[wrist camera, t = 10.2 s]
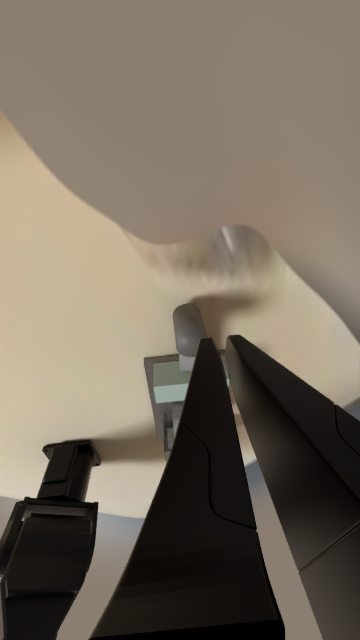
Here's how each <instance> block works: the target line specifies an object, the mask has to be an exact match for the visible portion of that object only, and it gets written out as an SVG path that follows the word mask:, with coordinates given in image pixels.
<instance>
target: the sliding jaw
mask: <svg viewBox="0 0 360 640" xmlns="http://www.w3.org/2000/svg"><path fill="white" fill-rule="evenodd" d="M173 322H174V331H175V339H176V348H177V351H178V352H179V361H172V362H161V363H154V371H153V388H154V394H155V399H156V403H164V402H173V401H183V400H184V399H185V395H186V392H187V388H188V384H189V380H190V376H191V372H192V368H193V364H194V360H195V356H196V352H197V348H198V344H199V340H200V339H201V338H207V335H206V332H205V328H204V325H203V322H202V318H201V315H200V312H199V309H198V308H197V307H196V306H194V305H192V304H183V305H180V306H179V307H177V308H176V309H175V311H174V313H173ZM221 359H222V357H221ZM222 362H223V359H222ZM223 365H224V362H223ZM224 370H225V375H226V379H227V384H228V387H229V377H228V374H227V371H226V368H225V365H224Z"/></svg>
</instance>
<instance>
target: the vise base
mask: <svg viewBox="0 0 360 640" xmlns="http://www.w3.org/2000/svg"><path fill="white" fill-rule="evenodd" d="M218 352H219V354H220V357H222V359H223V362H224V365H225V368H226V371H227V374H229V371H228V367H227V363H226V357H225V352H226V350H222V351H218ZM172 361H179V355H170V356H160V357H150V358H144V367H145V372H146V378H147V383H148V388H149V393H150V399H151V404H152V409H153V415H154V420H155V425H156V431H157V436H158V440H164V453H165V459H166V461H168V458H169V455H170V451H171V448H172V445H173V441H174V429H173V415H172V402H164V403H156V399H155V394H154V388H153V371H154V363H161V362H172Z"/></svg>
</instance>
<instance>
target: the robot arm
mask: <svg viewBox="0 0 360 640" xmlns="http://www.w3.org/2000/svg"><path fill="white" fill-rule="evenodd" d="M225 357H226V363H227V367H228V371H229V375H230V379H231V384H232V388H233V392H234V396H235V400H236V403H237V406H238V409H239V411H240V414H241V417H242V420H243V422H244V425H245V428H246V431H247V433H248V436H249V439H250V441H251V444H252V447H253V450H254V452H255V455H256V458H257V461H258V463H259V466H260V469H261V471H262V474H263V477H264V479H265V482H266V485H267V488H268V490H269V493H270V496H271V498H272V501H273V504H274V507H275V509H276V512H277V515H278V518H279V520H280V523H281V526H282V529H283V531H284V534H285V537H286V539H287V542H288V545H289V548H290V550H291V553H292V556H293V558H294V561H295V564H296V567H297V569H298V570H299V575H300V578H301V581H302V583H303V586H304V589H305V591H306V594H307V597H308V600H309V603H310V605H311V608H312V611H313V613H314V616H315V618H316V622H317V624H318V627H319V630H320V633H321V635H322V638H323V640H360V421H359V420H358V419H356V418H355V417H354V416H352V415H351V414H349V413H348V412H346V411H345V410H344V409H342V408H341V407H340V406H338V405H334V402H332V401H331V400H330V399H328V398H327V397H326V396H324V395H323V394H321V393H320V392H319V391H317V390H316V389H314V388H313V387H312V386H310V385H309V384H307V383H306V382H305V381H303V380H302V379H301V378H299V377H298V376H296V375H295V374H294V373H292V372H291V371H289V370H288V369H287V368H285V367H284V366H283V365H281V364H280V363H278V362H277V361H276V360H274V359H273V358H271V357H270V356H269V355H267V354H266V353H265V352H263V351H262V350H260V349H259V348H258V347H256V346H255V345H253V344H252V343H251V342H249V341H248V340H246V339H245V338H244V337H242V336H241V335H229V336H228V337H227V341H226V352H225ZM42 451H43V452H44V454H45V455H46V456H47V458H48V459H49V463H48V466H47V469H46V471H45V474H44V477H43V480H42V484H41V487H40V489H39V492H38V495H37V498H30V497H25V498H24V501H20V502H16V504H15V506H14V509H13V511H12V514H11V516H10V519H9V521H8V524H7V526H6V528H5V531H4V533H3V535H2V537H1V540H0V577H2V579H1V582H0V640H56V637H57V632H58V630H59V628H60V626H61V624H62V622H63V620H64V619H65V616H66V615H67V613H68V611H69V609H70V607H71V606H72V604H73V602H74V600H75V598H76V596H77V594H78V593H79V591H80V589H81V587H82V585H83V583H84V579H85V577H86V573H87V572H88V570H89V567H90V564H91V560H92V556H93V551H94V546H95V538H96V526H97V514H98V502H94V503H90V502H85V499H86V494H87V489H88V484H89V479H90V474H91V469H92V467H94V466H100V465H101V460H100V458H99V456H98V454H97V452H96V450H95V448H94V447H93V445H92V443H91V442H90V441H84V442H75V443H67V444H58V445H49V446H44V447H43V450H42ZM22 518H25V519H24V521H21V520H22ZM256 529H257V527H256V522H255V517H254V512H253V507H252V502H251V497H250V493H249V487H248V482H247V478H246V473H245V468H244V463H243V458H242V453H241V448H240V443H239V438H238V433H237V428H236V424H235V419H234V414H233V409H232V404H231V399H230V394H229V389H228V384H227V379H226V375H225V370H224V365H223V362H222V359H221V357H220V354H219V352H218V350H217V347H216V345H215V343H214V341H213V339H212V338H211V337H208V338H201V339H200V340H199V344H198V348H197V352H196V356H195V360H194V364H193V368H192V372H191V376H190V380H189V384H188V388H187V392H186V395H185V399H184V403H183V407H182V411H181V415H180V419H179V423H178V426H177V430H176V434H175V438H174V441H173V445H172V448H171V451H170V455H169V458H168V461H167V463H166V466H165V469H164V472H163V474H162V477H161V480H160V483H159V485H158V488H157V490H156V493H155V495H154V498H153V500H152V503H151V505H150V508H149V510H148V513H147V515H146V518H145V520H144V523H143V525H142V528H141V531H140V533H139V536H138V538H137V541H136V543H135V546H134V548H133V550H132V553H131V555H130V558H129V560H128V562H127V564H126V567H125V569H124V571H123V574H122V576H121V578H120V580H119V582H118V584H117V586H116V589H115V591H114V593H113V595H112V597H111V599H110V601H109V603H108V605H107V607H106V608H105V610H104V612H103V614H102V616H101V618H100V619H99V621H98V623H97V625H96V627H95V628H94V630H93V632H92V634H91V636H90V638H89V639H88V640H285V626H284V623H283V620H282V617H281V614H280V611H279V608H278V605H277V602H276V599H275V596H274V593H273V590H272V587H271V584H270V581H269V578H268V574H267V570H266V566H265V563H264V559H263V555H262V551H261V547H260V541H259V537H258V533H257V532H256Z"/></svg>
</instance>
